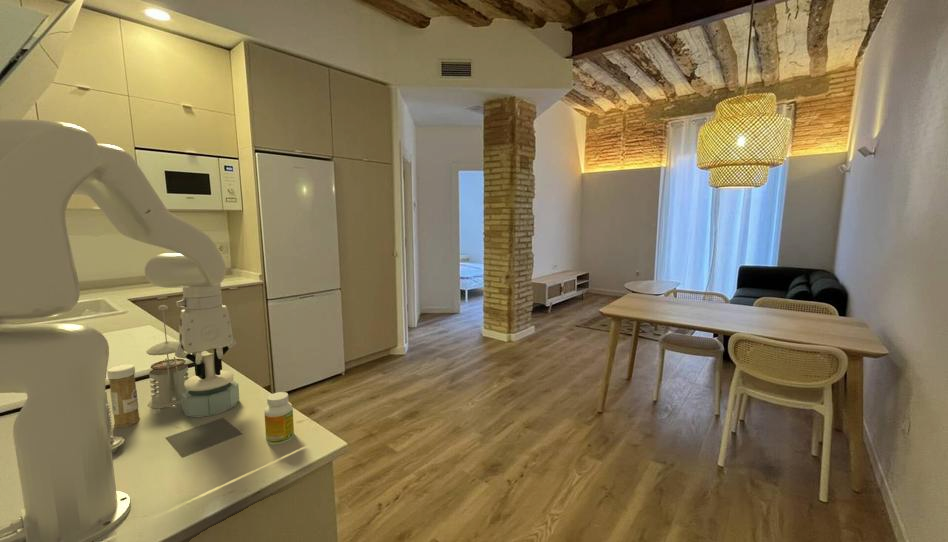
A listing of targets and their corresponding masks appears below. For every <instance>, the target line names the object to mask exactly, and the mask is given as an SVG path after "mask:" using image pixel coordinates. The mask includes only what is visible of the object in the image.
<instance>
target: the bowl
mask: <svg viewBox="0 0 948 542" xmlns="http://www.w3.org/2000/svg"><path fill="white" fill-rule="evenodd" d="M239 386H240V385H239V382H237V381H236V380H234V379H233V380H232V381H231V382H230V383H228V384H226V385H224V386H221V387H218V388H215V389H210V390H204V391H190V390H187V389H186V390H185V391H183V392H182V393H181V401H182V404H181V407H182V408H181V410H182V411H183V412H184V414H185V415H186V416H187V417H190V418H205V417H210V416H216V415H219V414H221V413H224V412H227V411H229V410H231V409H232V408H234V407H235V406H236V405H237V404H238V401H239V400H240V388H239Z"/></svg>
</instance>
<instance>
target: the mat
mask: <svg viewBox="0 0 948 542" xmlns="http://www.w3.org/2000/svg"><path fill="white" fill-rule="evenodd" d="M243 434H244V433H243V432H242V431H240V430H239V429H238V428H237V427H235V426H234V425H233V424H231V422H229V421H228V420H227V419H226V418H225V417H220V418H217V419H215V420H211V421H209V422H206V423H204V424H200V425H199V426H194V427H192V428H189V429H186V430H184V431H180V432H178V433H175V434H172V435H169V436H166V437H165V439H166V441H167V442H168V443H169V444H170V445H171V447H172V448H173V449H174V450H175V451H176V452H177V454H178V455H179V456H180V457H181V458H184V457H187V456H190V455H193V454H195V453H197V452H200V451H203V450H205V449H208V448H211V447H213V446H216V445H218V444H221V443H223V442H226V441H228V440H230V439H234V438H236V437H238V436H241V435H243Z"/></svg>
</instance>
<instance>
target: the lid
mask: <svg viewBox="0 0 948 542" xmlns="http://www.w3.org/2000/svg"><path fill="white" fill-rule="evenodd" d="M202 362H203V363H204V364H205V377H206V378H205V379H200V378H199V377H198V376H196V375H193V376H191V377H189V379H187V380H186V381H185V382H184V385H185V389H187V390H190V391H204V390H210V389H215V388H218V387H221V386H224V385H226V384H228V383H230V382H231V381H232V380H234V373H233V372H232V371H229V370H220V375H216V374H215V361H214V353H213V352H209V353H203V354H202Z"/></svg>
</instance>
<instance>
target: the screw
mask: <svg viewBox="0 0 948 542" xmlns="http://www.w3.org/2000/svg"><path fill="white" fill-rule="evenodd" d="M105 397H106V408H107V417H108V426H109V434H110V442H111V451H112V454H114V453H116V452H117V451H118V449H119V447H120V446H122V445H123V444H124V442H125V437H122V436H117V435H115V436H114V433H113V432H114V429H113V426H114V424H113V422H112V421H113V420H112V418H113V417H112V411H111V405H110V402H109V401H108V394H107V392H106V391H105Z"/></svg>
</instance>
